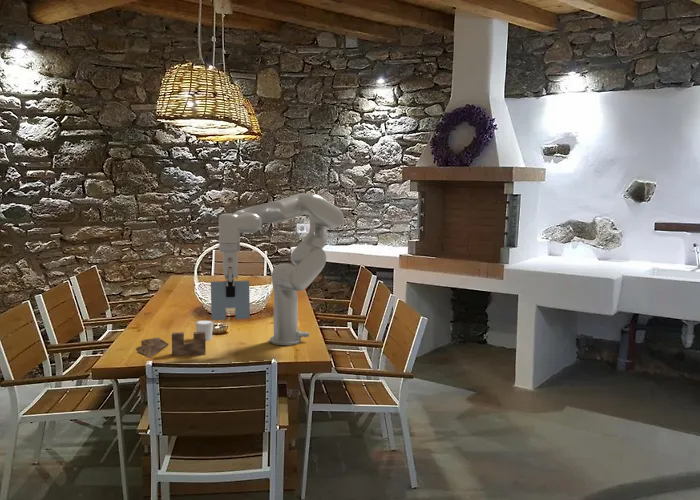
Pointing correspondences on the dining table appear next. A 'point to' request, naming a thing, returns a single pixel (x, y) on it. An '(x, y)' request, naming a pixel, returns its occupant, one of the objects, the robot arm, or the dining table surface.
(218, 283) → the blue-grey notched panel
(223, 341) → the dining table surface
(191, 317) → the dining table surface
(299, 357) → the dining table surface
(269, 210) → the robot arm
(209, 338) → the white topped beige cylinder
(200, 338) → the wood grain block
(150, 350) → the wooden fragment
